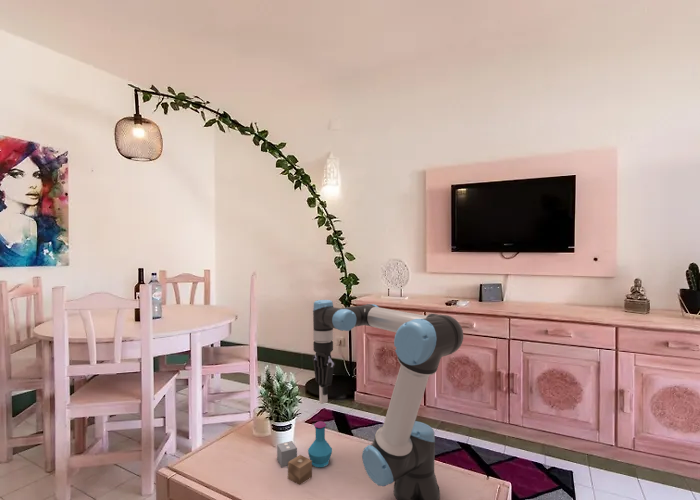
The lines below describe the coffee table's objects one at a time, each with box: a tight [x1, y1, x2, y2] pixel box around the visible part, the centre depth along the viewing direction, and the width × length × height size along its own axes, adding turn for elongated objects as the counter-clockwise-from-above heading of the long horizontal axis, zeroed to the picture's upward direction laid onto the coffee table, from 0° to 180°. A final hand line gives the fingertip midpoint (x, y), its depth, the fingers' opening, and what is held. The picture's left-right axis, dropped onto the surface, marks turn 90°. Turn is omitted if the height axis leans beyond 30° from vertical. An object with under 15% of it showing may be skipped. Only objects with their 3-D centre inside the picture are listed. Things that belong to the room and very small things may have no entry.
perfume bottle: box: [307, 420, 333, 468], centre depth 144 cm, size 9×9×15 cm
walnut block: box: [287, 454, 313, 486], centre depth 135 cm, size 6×6×6 cm
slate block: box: [276, 440, 298, 468], centre depth 145 cm, size 6×6×6 cm
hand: (323, 402), depth 144 cm, fingers closed
